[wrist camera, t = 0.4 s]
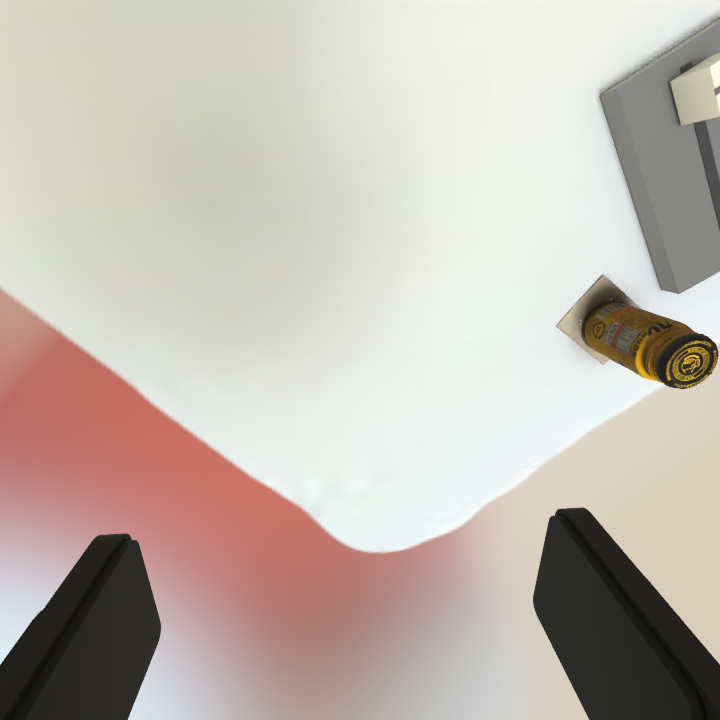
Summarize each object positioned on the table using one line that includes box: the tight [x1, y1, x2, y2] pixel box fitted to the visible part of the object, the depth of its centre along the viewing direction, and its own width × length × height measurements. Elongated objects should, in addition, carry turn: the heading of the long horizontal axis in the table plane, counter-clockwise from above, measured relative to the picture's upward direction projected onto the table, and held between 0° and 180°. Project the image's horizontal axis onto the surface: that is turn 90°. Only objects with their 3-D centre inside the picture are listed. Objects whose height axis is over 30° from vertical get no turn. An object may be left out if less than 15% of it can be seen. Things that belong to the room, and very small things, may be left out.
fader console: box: [600, 18, 720, 294], centre depth 40 cm, size 22×12×3 cm, turn 32°
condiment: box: [557, 275, 718, 389], centre depth 41 cm, size 7×8×12 cm
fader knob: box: [670, 53, 720, 126], centre depth 34 cm, size 4×4×4 cm
